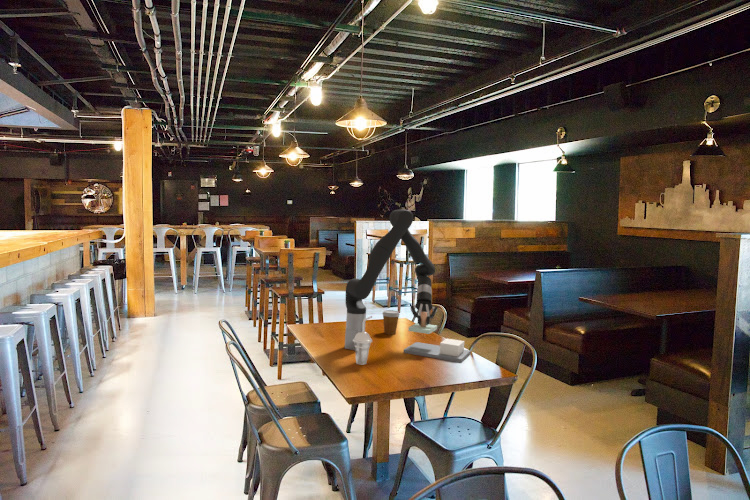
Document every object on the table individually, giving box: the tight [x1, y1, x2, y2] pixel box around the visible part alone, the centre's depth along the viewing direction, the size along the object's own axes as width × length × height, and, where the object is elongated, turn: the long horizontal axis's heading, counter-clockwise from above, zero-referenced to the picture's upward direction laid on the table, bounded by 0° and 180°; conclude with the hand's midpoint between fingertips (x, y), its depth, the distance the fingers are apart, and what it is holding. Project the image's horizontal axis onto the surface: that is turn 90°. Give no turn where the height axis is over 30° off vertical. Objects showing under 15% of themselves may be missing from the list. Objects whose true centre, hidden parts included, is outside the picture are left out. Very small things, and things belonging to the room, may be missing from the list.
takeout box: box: [439, 338, 465, 356], centre depth 236 cm, size 11×9×5 cm
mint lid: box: [408, 311, 438, 335], centre depth 242 cm, size 12×10×9 cm
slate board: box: [402, 341, 472, 363], centre depth 239 cm, size 18×28×2 cm, turn 66°
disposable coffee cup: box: [382, 309, 400, 335], centre depth 276 cm, size 10×10×12 cm
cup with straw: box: [353, 315, 373, 366], centre depth 215 cm, size 8×9×20 cm
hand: (423, 324), depth 240 cm, fingers closed on mint lid, 3 cm apart
